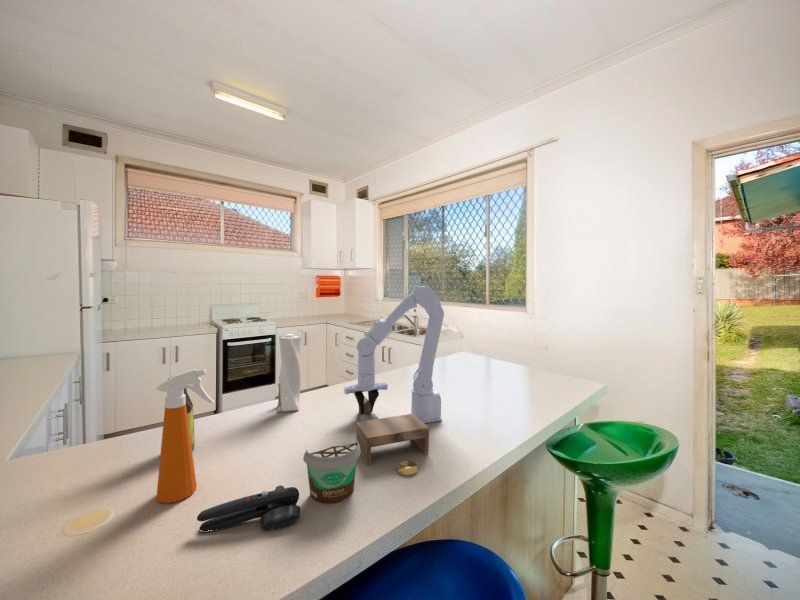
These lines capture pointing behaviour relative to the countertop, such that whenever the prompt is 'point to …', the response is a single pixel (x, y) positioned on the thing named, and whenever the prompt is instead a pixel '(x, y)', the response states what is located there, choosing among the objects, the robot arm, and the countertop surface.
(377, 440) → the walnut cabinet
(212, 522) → the can opener
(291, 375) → the skyscraper
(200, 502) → the countertop surface
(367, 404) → the putty knife
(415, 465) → the brass token
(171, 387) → the spray bottle
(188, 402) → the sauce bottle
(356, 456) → the food container
